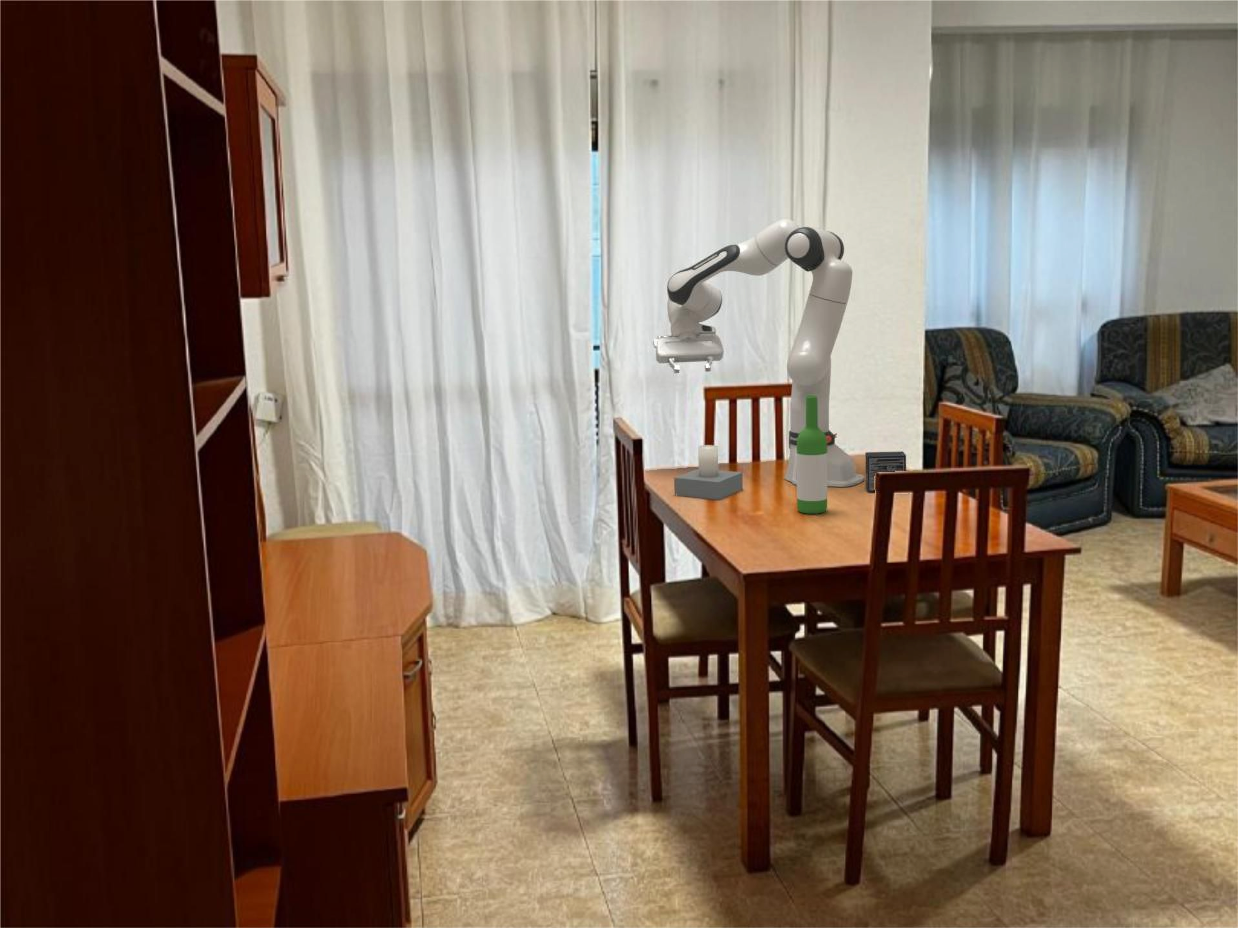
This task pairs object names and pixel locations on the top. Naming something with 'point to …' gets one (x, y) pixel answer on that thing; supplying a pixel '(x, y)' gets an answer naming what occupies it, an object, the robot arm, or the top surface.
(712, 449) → the cylinder
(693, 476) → the plinth
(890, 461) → the small box
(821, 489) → the wine bottle
